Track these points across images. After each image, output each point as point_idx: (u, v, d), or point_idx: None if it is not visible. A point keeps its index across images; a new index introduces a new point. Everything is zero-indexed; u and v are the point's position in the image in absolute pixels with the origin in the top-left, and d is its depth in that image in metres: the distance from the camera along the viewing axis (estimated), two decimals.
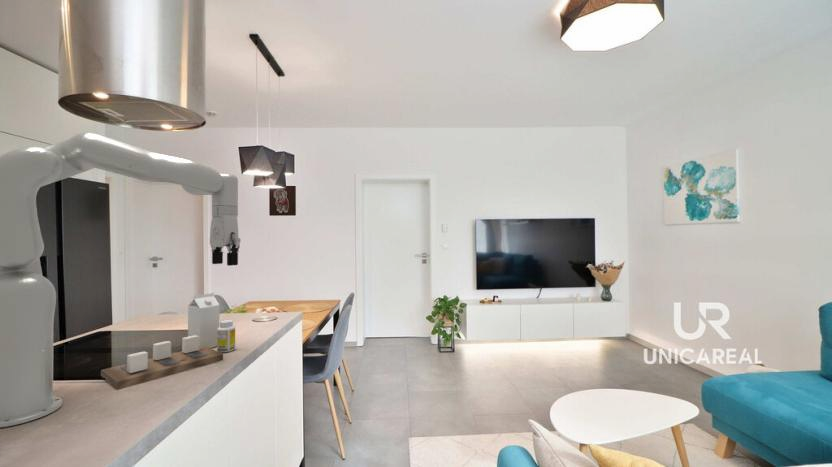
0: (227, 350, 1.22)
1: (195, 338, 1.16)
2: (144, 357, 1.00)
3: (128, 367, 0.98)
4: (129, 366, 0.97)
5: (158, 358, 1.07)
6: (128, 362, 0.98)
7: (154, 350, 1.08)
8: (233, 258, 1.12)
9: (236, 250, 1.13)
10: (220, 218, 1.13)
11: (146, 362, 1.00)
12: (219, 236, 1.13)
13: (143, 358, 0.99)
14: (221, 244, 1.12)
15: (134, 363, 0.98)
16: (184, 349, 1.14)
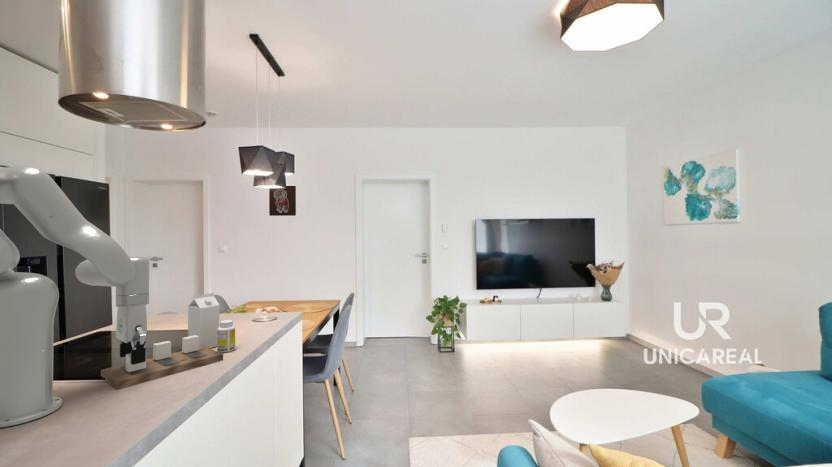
0: (227, 350, 1.22)
1: (195, 338, 1.16)
2: None
3: (127, 366, 0.98)
4: (128, 365, 0.98)
5: (158, 358, 1.07)
6: (127, 361, 0.98)
7: (154, 350, 1.08)
8: (138, 356, 0.98)
9: (142, 346, 0.98)
10: (123, 309, 0.98)
11: (145, 361, 1.00)
12: (122, 330, 0.98)
13: None
14: (124, 340, 0.98)
15: None
16: (184, 349, 1.14)
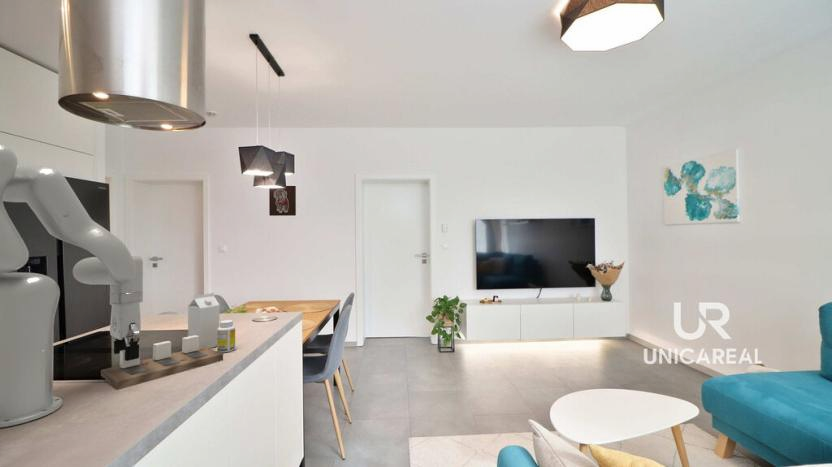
0: (227, 350, 1.22)
1: (195, 338, 1.16)
2: None
3: (121, 362, 1.01)
4: (122, 361, 1.01)
5: (158, 358, 1.07)
6: (121, 358, 1.01)
7: (154, 350, 1.08)
8: (132, 352, 1.01)
9: (135, 343, 1.01)
10: (117, 307, 1.01)
11: (138, 358, 1.03)
12: (117, 328, 1.01)
13: None
14: (118, 337, 1.00)
15: None
16: (184, 349, 1.14)
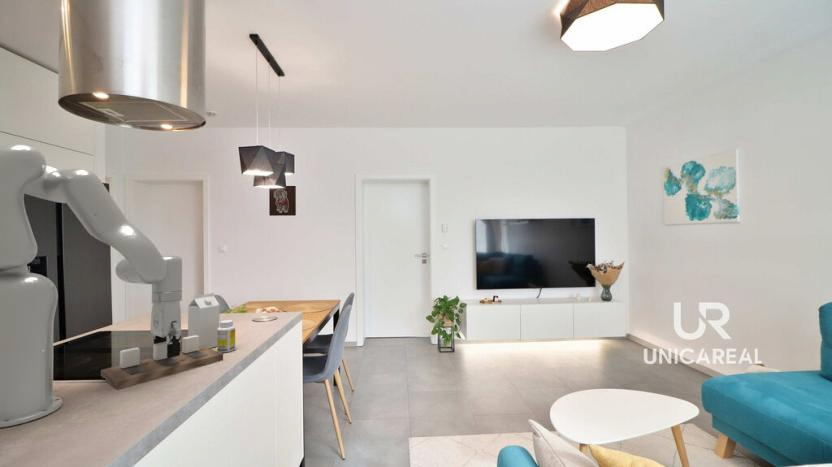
0: (227, 350, 1.22)
1: (195, 338, 1.16)
2: (136, 353, 1.03)
3: (121, 362, 1.01)
4: (122, 361, 1.01)
5: (158, 358, 1.07)
6: (121, 358, 1.01)
7: (154, 350, 1.07)
8: (174, 349, 1.04)
9: (177, 341, 1.04)
10: (160, 306, 1.04)
11: (138, 358, 1.03)
12: (159, 326, 1.04)
13: (135, 354, 1.03)
14: (160, 335, 1.03)
15: (127, 359, 1.01)
16: (184, 349, 1.14)
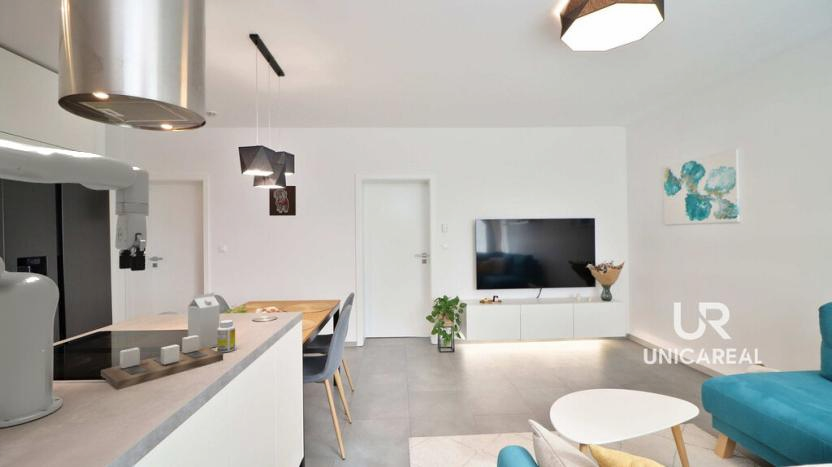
0: (227, 350, 1.22)
1: (195, 338, 1.16)
2: (136, 353, 1.03)
3: (121, 362, 1.01)
4: (122, 361, 1.01)
5: (166, 362, 1.04)
6: (121, 358, 1.01)
7: (162, 354, 1.04)
8: (138, 262, 0.99)
9: (142, 253, 0.99)
10: (123, 216, 0.99)
11: (138, 358, 1.03)
12: (122, 237, 0.99)
13: (135, 354, 1.03)
14: (124, 246, 0.98)
15: (127, 359, 1.01)
16: (184, 349, 1.14)
